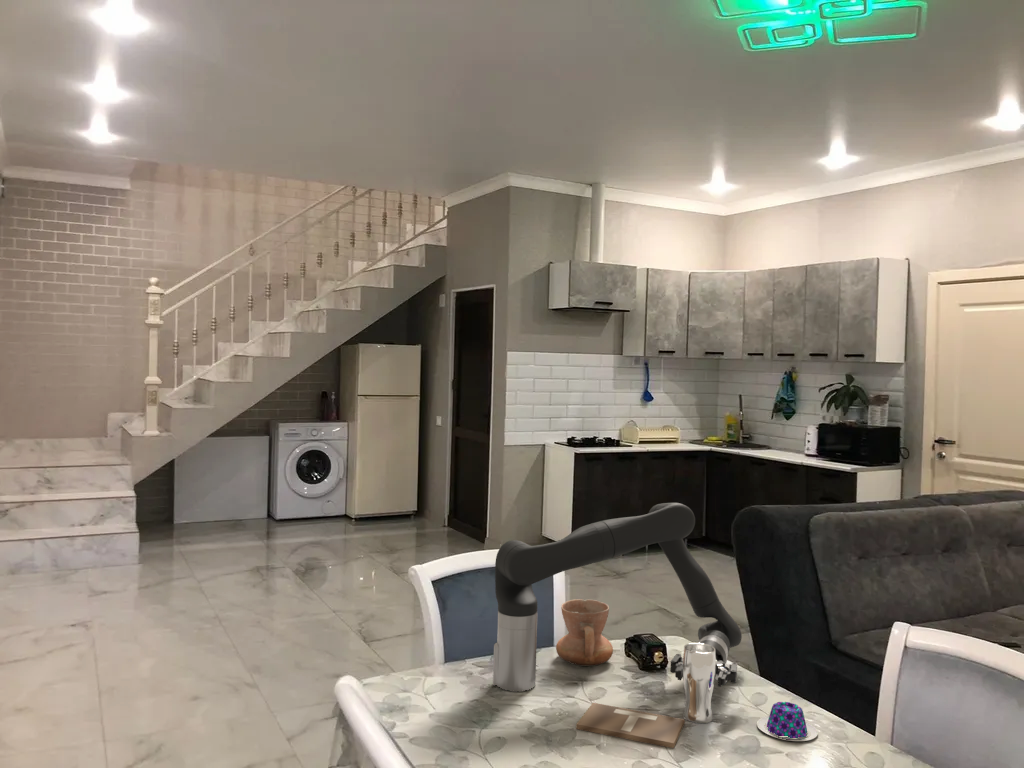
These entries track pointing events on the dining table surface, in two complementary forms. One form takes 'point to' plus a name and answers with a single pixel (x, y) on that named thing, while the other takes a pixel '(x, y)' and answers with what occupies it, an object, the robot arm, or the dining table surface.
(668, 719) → the board
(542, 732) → the dining table surface
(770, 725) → the pudding
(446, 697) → the dining table surface
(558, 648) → the ceramic jug
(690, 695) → the beer glass
